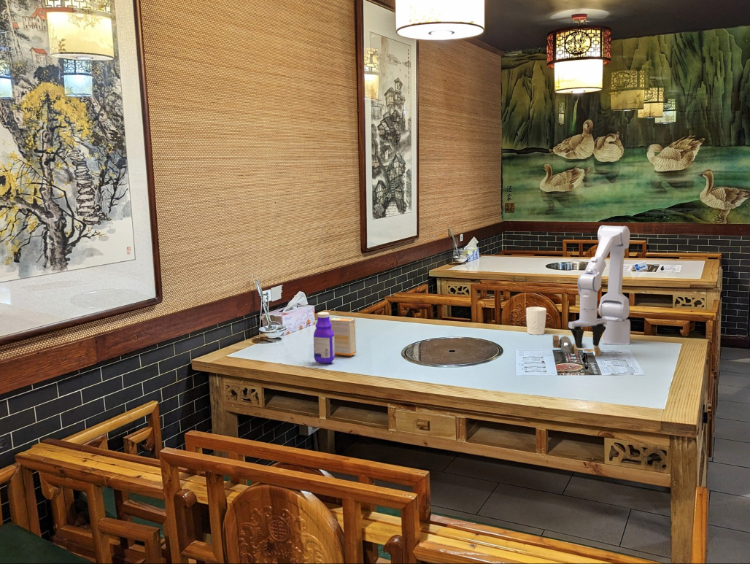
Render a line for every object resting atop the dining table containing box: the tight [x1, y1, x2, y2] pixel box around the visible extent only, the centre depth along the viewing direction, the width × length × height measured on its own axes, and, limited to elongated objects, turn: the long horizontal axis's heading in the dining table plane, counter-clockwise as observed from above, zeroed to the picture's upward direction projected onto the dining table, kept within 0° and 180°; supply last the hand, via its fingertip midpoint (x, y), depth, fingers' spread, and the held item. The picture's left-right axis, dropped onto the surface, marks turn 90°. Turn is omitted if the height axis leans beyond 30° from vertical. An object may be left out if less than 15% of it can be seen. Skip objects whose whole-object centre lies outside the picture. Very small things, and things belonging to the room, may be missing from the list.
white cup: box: [525, 306, 547, 336], centre depth 270 cm, size 8×8×10 cm
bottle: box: [313, 311, 336, 364], centre depth 235 cm, size 7×6×17 cm
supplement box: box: [330, 316, 357, 357], centre depth 245 cm, size 8×5×13 cm, turn 65°
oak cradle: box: [572, 343, 601, 357], centre depth 238 cm, size 9×9×3 cm
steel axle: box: [559, 335, 574, 354], centre depth 243 cm, size 12×4×4 cm, turn 170°
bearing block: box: [552, 334, 576, 349], centre depth 249 cm, size 10×7×3 cm
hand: (587, 346), depth 234 cm, fingers open, 6 cm apart
